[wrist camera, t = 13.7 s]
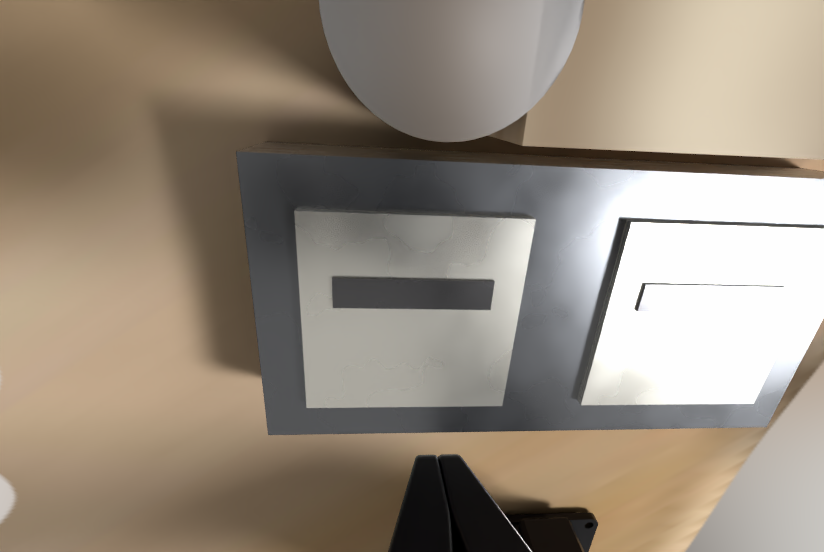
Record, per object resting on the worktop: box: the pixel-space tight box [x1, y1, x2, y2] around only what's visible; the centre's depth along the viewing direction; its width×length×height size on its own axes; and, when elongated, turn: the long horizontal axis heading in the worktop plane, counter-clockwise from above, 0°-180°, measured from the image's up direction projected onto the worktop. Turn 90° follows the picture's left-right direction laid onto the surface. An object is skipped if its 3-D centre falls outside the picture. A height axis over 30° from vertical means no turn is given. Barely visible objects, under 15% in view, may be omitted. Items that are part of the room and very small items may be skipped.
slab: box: [236, 142, 824, 435], centre depth 15 cm, size 10×20×3 cm, turn 87°
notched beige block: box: [319, 0, 824, 160], centre depth 10 cm, size 18×4×6 cm, turn 87°
